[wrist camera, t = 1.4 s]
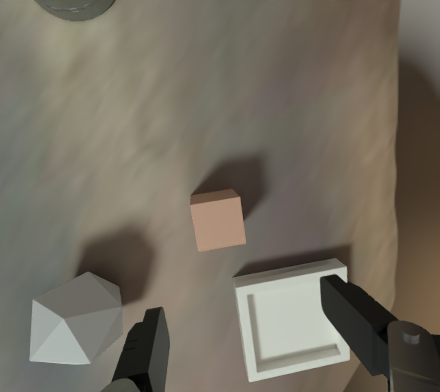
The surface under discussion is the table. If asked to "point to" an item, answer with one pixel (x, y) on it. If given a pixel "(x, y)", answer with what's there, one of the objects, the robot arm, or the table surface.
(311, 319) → the tray
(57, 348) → the die
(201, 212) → the cube
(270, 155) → the table surface
